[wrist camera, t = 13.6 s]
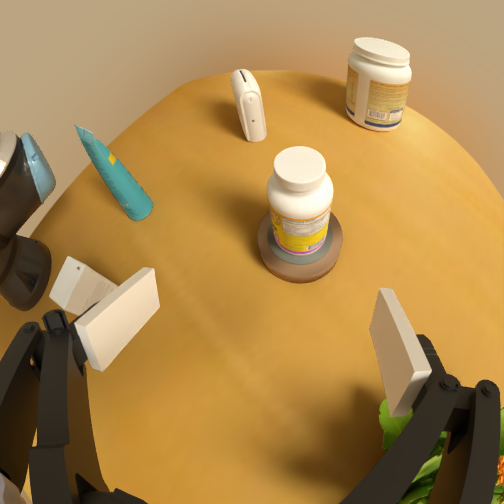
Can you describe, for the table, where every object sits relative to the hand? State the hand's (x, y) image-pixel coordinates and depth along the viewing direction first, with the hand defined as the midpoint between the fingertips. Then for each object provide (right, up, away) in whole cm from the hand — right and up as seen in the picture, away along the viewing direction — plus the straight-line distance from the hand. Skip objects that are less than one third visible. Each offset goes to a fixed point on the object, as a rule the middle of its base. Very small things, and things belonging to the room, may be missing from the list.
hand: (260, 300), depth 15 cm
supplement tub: (+25, +31, +33) cm, 51 cm away
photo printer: (0, +27, +35) cm, 44 cm away
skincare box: (-20, -6, +22) cm, 31 cm away
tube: (-20, +10, +30) cm, 37 cm away
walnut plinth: (+6, +4, +22) cm, 23 cm away
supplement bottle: (+6, +5, +20) cm, 21 cm away
